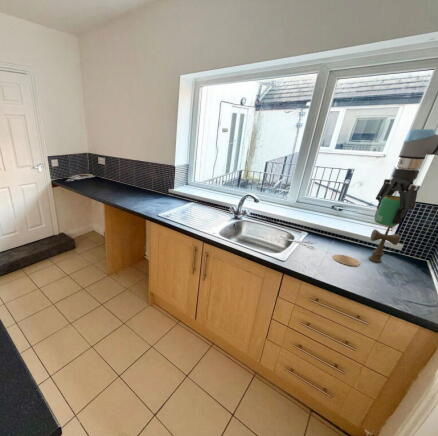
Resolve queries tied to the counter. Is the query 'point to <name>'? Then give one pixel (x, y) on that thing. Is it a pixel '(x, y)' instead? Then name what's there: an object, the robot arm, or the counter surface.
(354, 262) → the cork coaster
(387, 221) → the beverage can
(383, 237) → the kendama
